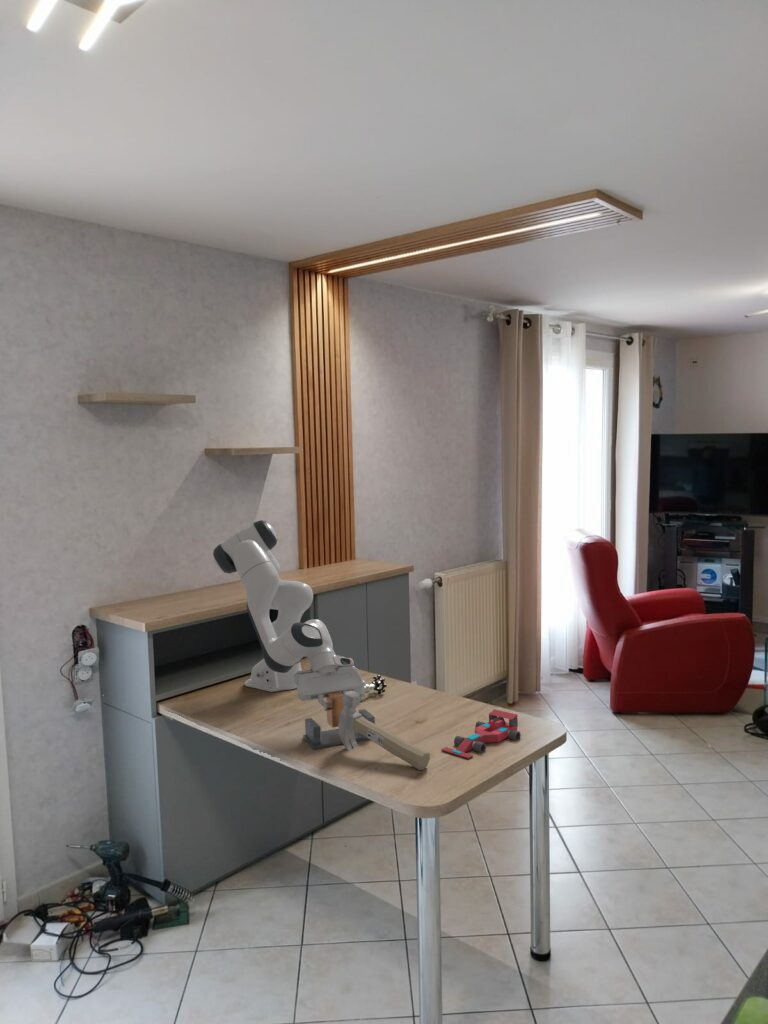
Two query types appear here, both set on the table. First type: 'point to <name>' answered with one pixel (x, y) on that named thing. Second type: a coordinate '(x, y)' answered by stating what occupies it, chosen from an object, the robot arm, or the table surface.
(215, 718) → the table surface
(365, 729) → the hammer
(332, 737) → the vise jaws
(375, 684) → the valve
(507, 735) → the race car
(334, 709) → the wooden rectangular block
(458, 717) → the table surface
